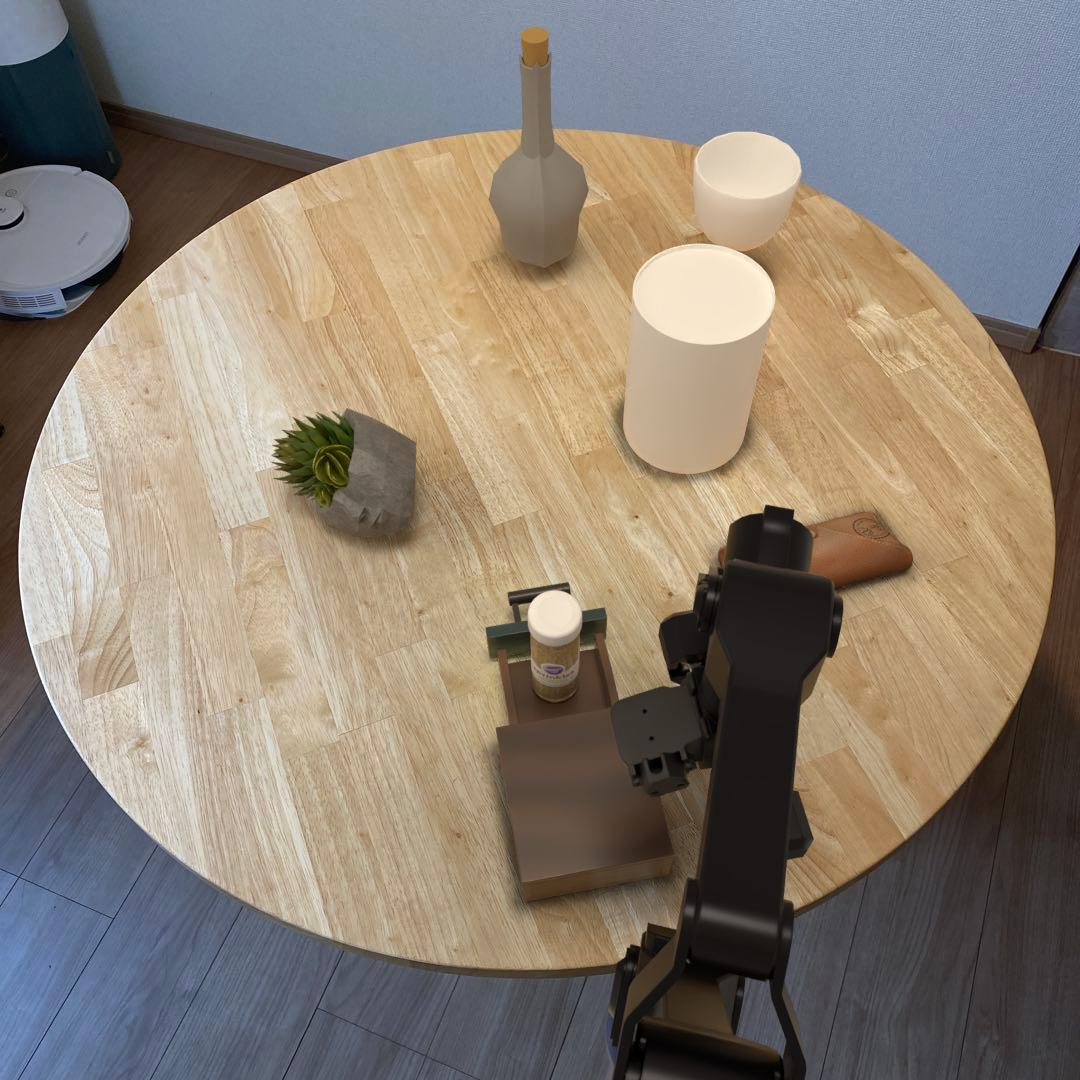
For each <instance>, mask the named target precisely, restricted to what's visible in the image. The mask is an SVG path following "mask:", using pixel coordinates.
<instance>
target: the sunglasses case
mask: <svg viewBox="0 0 1080 1080" xmlns="http://www.w3.org/2000/svg"><path fill="white" fill-rule="evenodd" d="M805 526H806V527H807V528H808V529H809V531H810V532H811V533H812V536H813V538H814V543H813V552H812V560H811V569H810V573H814V574H820V575H824V576H825V577H826V578H829V579H831V580H832V581H833V582H834V587H835V589H834V590H838V589H841V588H844V587H845V588H846V587H849V586H853V585H856V584H860V583H863V582H868V581H871V580H875V579H879V578H884V577H887V576H892V575H896V574H898V573H903V572H906V571H908V570H910V569H911V568H912V567H913V563H914V555H913V551H911V549H910V548H909V547H908V546H907V545H906V544H903V543H902V542H901V541H900V540H898V539H897V538H896V537H895V536H894V535H893V534H892V533H891V532H890V531H889V530H888V529H887V528H885V526H883V525H882V524H881V522H880V521H879V519H878V518H877V515H875V513H874V512H872V511H862V512H857V513H853V514H848V515H844V516H840V517H836V518H833V519H829V520H826V521H821V522H818V523H815V524H809V525H805ZM725 549H726V545H724V546H721V547H719V549H718V554H717V555H718V560H719V563H720V566H721V568H722V567H723V561H724V555H725Z"/></svg>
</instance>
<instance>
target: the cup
mask: <svg viewBox="0 0 1080 1080" xmlns="http://www.w3.org/2000/svg"><path fill="white" fill-rule="evenodd" d="M802 173H803V171H802V164H801V158H800V157H799V155H798V154H797V153H796V152H795V151H794V150H793V148H792V146H790V145H789V144H788V143H786V142H784V141H782V140H781V139H779V138H777V137H775V136H773V135H768V134H764V133H761V132H757V131H731V132H727V133H723V134H719V135H717V136H714V137H713V138H712V139H710V140H708V141H707V142H706V143H704V144H703V145H701V146H700V148H699V150H698V152H697V154H696V155H695V157H694V162H693V174H692V175H693V176H692V181H693V182H692V184H693V185H692V186H693V191H692V193H693V207H694V214H695V220H696V223H697V225H698V226H699V228H700V229H701V231H702V232H703V234H704V235H705V236H706V238H707V240H708V241H710V242H712V243H713V244H714V245H718V246H723V247H727V248H730V249H733V250H736V251H738V252H747V251H751V250H753V249H754V250H755V249H756V248H760V247H762V246H763V245H764V244H766V243H767V242H768V241H769V240H771V239H772V238H773V237H774V236H776V235H777V234H778V233H779V231H780V229H781V228H782V226H783V225H784V222H785V221H786V220H787V216H788V214H789V212H790V210H791V208H792V204H793V202H794V199H795V196H796V194H797V191H798V187H799V185H800V180H801V176H802Z"/></svg>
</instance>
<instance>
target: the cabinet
mask: <svg viewBox="0 0 1080 1080" xmlns="http://www.w3.org/2000/svg"><path fill="white" fill-rule="evenodd" d="M611 708H612V707H609V708H603V709H598V710H592V711H586V712H581V713H575V714H569V715H564V716H558V717H552V718H547V719H541V720H535V721H530V722H524V723H518V724H513V725H509V724H508V725H502V726H496V727H495V732H496V733H495V734H496V741H497V747H498V753H499V754H498V755H499V758H500V759H499V760H500V767H501V771H502V772H501V773H502V777H503V778H502V779H503V785H504V789H505V796H506V801H507V807H508V814H509V819H510V825H511V831H512V837H513V843H514V848H515V849H514V850H515V855H516V861H517V867H518V868H517V869H518V874H519V879H520V887H521V891H522V897H523V902H524V903H529V902H533V901H538V900H543V899H549V898H555V897H559V896H564V895H570V894H576V893H580V892H581V893H582V892H586V891H591V890H596V889H602V888H607V887H611V886H616V885H622V884H627V883H632V882H638V881H643V880H648V879H654V878H659V877H664V876H668V875H669V874H670V871H671V868H672V864H673V860H674V857H675V851H674V850H675V849H674V847H673V842H672V839H671V834H670V831H669V826H668V822H667V817H666V815H665V811H664V807H663V802H662V799H661V796H659V797H650V796H649V795H647V794H646V793H645V791H644V787H643V786H640V787H633V786H632V781H631V778H630V774H629V769H628V765H627V764H626V763H625V762H624V761H623V760H622V759H621V757H620V754H619V750H618V746H617V741H616V737H615V733H614V728H613V724H612V720H611Z"/></svg>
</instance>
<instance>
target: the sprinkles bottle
mask: <svg viewBox="0 0 1080 1080" xmlns="http://www.w3.org/2000/svg"><path fill="white" fill-rule="evenodd" d="M582 611H583V609H582V607H581V604H580V603H579V601H578V600H577V599H576V598H575V597H574V596H573V595H572V594H571V595H570V594H568V593H566V592H563V591H558V590H553V591H547V592H544V593H542V594H540V595H538V596H537V597H536V598H535V599H534V600H533V601H532V602H531V603H529V606H528V609H527V620H528V628H529V631H530V636H531V637H530V638H531V641H530V642H531V652H530V660H531V669H532V678H531V683H532V687H533V689H534V691H535V693H536V694H537V695H538V696H539V697H540V698H542V699H543V700H546V701H549V702H554V703H558V702H563V701H565V700H567V699H569V698H570V697H572V696H573V695H574V694H575V692H576V691H577V688H578V686H579V676H578V671H579V659H580V651H581V643H580V631H581V628H582Z"/></svg>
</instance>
